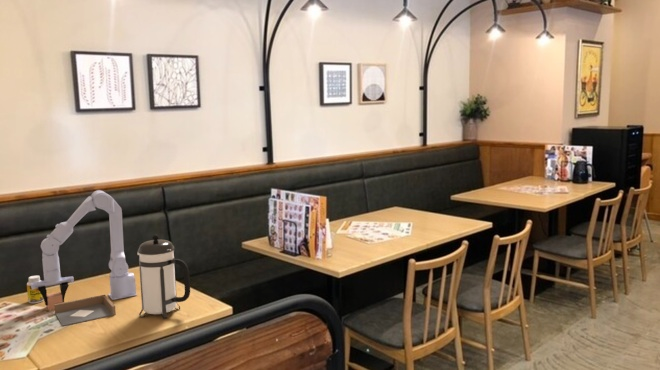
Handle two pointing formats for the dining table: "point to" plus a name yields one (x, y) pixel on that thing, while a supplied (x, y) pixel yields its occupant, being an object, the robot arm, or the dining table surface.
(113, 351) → the dining table surface
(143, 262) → the coffee press
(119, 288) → the robot arm
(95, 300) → the tray
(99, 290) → the dining table surface
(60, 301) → the cube
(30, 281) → the supplement bottle
